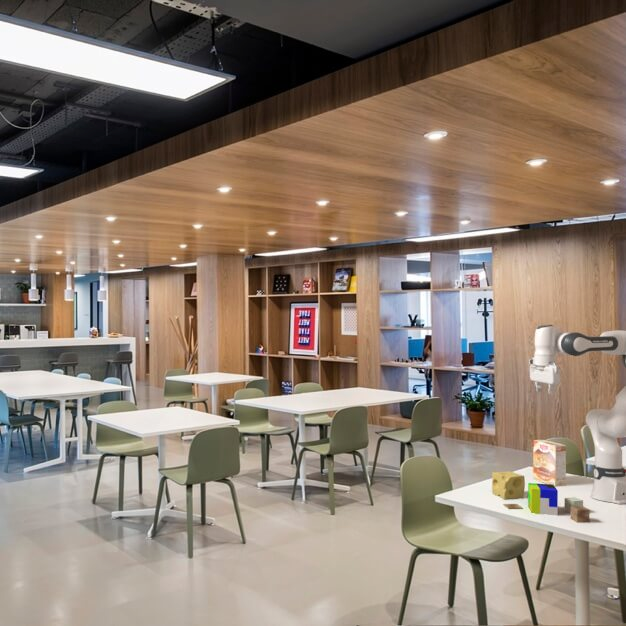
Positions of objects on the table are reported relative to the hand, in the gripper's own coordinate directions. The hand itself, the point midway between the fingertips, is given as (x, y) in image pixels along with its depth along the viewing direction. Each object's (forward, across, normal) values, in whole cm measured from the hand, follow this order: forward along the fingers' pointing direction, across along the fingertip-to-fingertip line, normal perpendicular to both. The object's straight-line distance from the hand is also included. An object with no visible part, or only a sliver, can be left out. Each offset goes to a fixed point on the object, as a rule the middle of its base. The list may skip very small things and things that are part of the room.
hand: (544, 393), depth 276 cm
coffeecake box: (+47, +29, -19) cm, 59 cm away
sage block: (+47, -17, -4) cm, 50 cm away
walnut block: (+47, -29, 0) cm, 55 cm away
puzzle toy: (+47, -16, +9) cm, 50 cm away
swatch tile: (+47, -9, +19) cm, 51 cm away
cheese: (+47, +8, +13) cm, 49 cm away
